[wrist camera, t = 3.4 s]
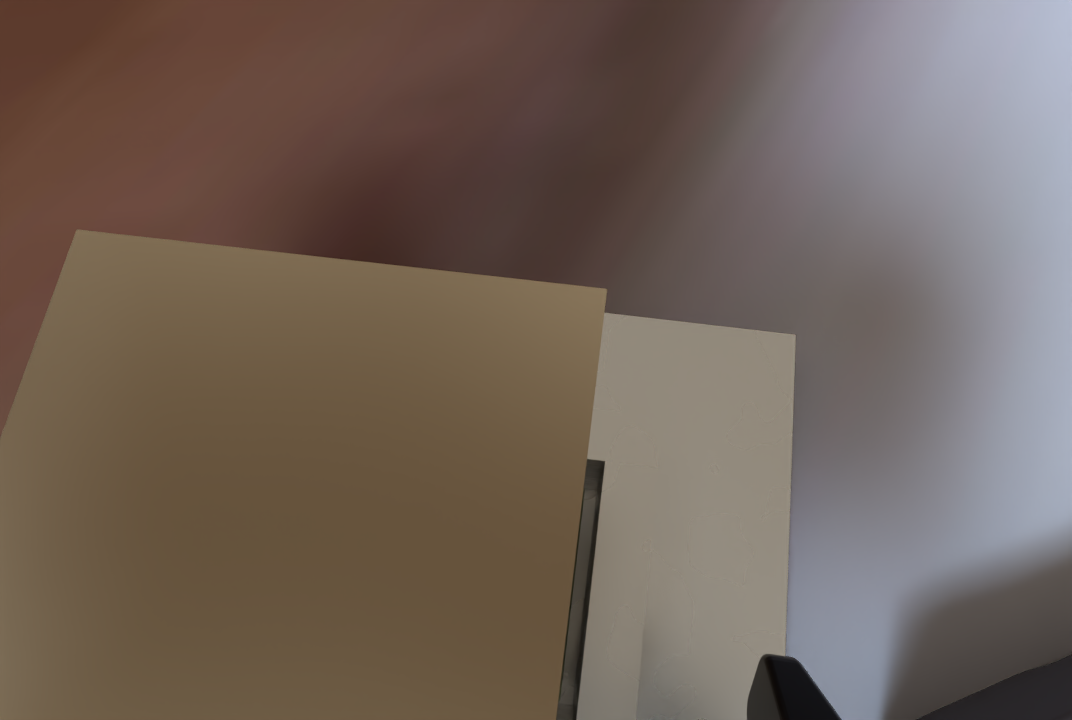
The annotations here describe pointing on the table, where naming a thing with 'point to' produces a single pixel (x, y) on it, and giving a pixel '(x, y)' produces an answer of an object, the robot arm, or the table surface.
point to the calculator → (1018, 697)
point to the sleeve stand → (681, 522)
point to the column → (292, 489)
